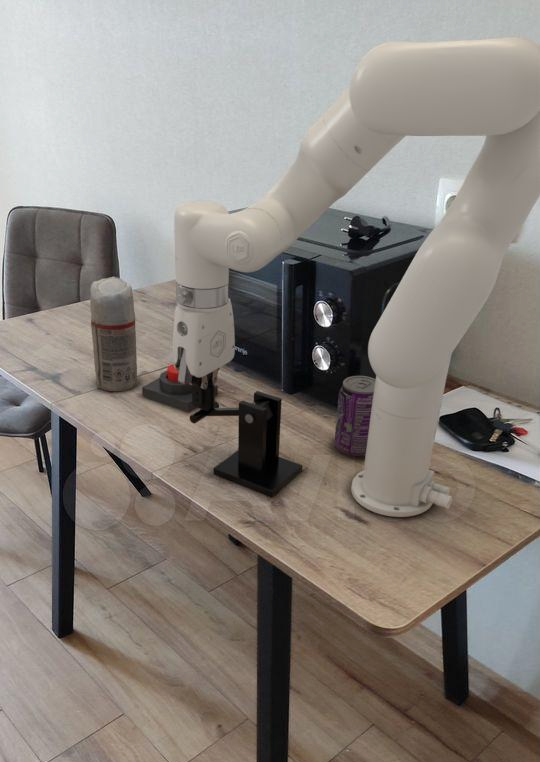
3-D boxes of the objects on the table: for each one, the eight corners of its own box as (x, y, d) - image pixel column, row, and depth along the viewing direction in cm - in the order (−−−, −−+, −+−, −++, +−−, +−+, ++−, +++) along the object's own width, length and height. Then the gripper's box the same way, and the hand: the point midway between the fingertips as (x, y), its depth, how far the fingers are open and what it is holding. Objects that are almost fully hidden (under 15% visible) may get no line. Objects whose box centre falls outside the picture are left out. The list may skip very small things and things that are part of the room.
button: (196, 377, 132) (195, 367, 131) (181, 385, 129) (181, 375, 128) (177, 371, 134) (177, 361, 133) (162, 379, 131) (162, 369, 129)
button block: (217, 394, 134) (217, 375, 132) (188, 412, 128) (187, 392, 125) (172, 380, 139) (172, 361, 137) (142, 396, 132) (140, 377, 130)
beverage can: (344, 433, 123) (351, 370, 116) (382, 445, 120) (391, 381, 113) (326, 451, 118) (332, 386, 111) (365, 463, 115) (373, 397, 108)
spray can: (144, 376, 140) (137, 276, 129) (134, 394, 133) (125, 290, 122) (103, 372, 140) (92, 273, 129) (90, 390, 134) (78, 287, 123)
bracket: (213, 474, 111) (212, 401, 104) (245, 450, 117) (246, 380, 110) (272, 497, 106) (275, 422, 99) (302, 471, 112) (307, 399, 105)
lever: (191, 426, 111) (187, 412, 110) (214, 412, 115) (210, 398, 114) (258, 426, 103) (254, 411, 102) (280, 411, 107) (276, 396, 106)
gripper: (190, 313, 94) (192, 432, 104) (253, 286, 105) (249, 396, 115) (148, 301, 97) (154, 418, 108) (212, 276, 108) (212, 384, 118)
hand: (203, 406), depth 111 cm, fingers closed
